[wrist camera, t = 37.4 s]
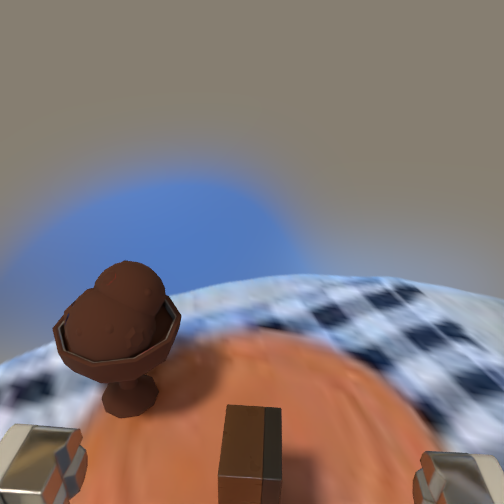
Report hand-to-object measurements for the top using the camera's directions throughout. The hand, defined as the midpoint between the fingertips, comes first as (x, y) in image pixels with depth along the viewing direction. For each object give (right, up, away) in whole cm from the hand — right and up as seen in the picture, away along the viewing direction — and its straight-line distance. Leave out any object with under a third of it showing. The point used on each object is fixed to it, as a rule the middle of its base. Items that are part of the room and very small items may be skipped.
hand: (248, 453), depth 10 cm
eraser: (0, -16, +23) cm, 28 cm away
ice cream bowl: (-12, -10, +33) cm, 36 cm away
